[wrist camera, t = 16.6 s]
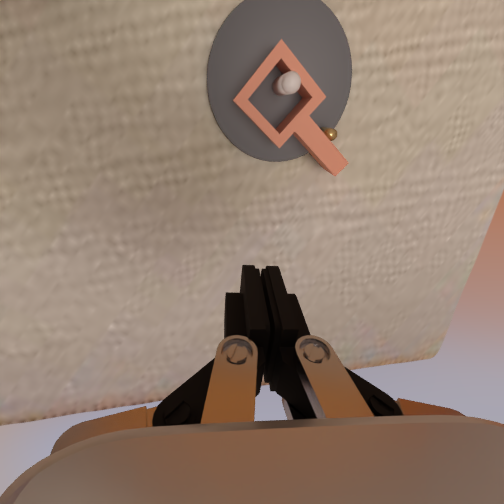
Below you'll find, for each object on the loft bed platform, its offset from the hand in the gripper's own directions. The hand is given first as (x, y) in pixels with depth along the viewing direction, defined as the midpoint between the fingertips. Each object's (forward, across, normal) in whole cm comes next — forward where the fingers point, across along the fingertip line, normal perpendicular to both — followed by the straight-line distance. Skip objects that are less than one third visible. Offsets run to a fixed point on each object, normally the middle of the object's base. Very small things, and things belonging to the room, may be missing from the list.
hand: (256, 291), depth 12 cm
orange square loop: (+24, -6, -6) cm, 26 cm away
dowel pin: (+25, -10, -6) cm, 27 cm away
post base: (+25, -4, -10) cm, 27 cm away
